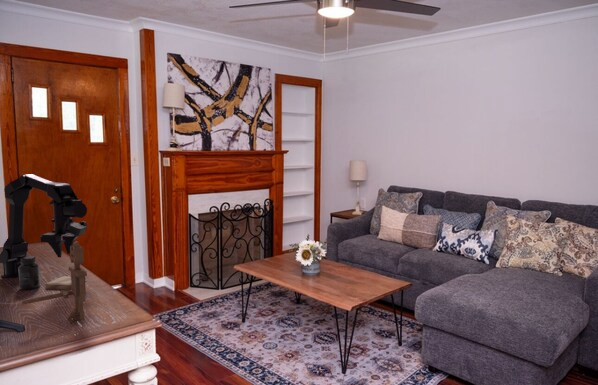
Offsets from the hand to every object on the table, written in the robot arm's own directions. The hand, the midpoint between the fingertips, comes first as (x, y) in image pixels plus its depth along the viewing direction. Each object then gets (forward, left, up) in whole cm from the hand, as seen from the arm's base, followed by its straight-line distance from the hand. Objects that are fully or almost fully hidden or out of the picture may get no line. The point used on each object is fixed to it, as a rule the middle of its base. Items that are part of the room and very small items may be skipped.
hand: (64, 255), depth 171 cm
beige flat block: (0, 0, -12) cm, 12 cm away
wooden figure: (+22, -35, -12) cm, 43 cm away
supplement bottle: (-12, -4, -12) cm, 18 cm away
